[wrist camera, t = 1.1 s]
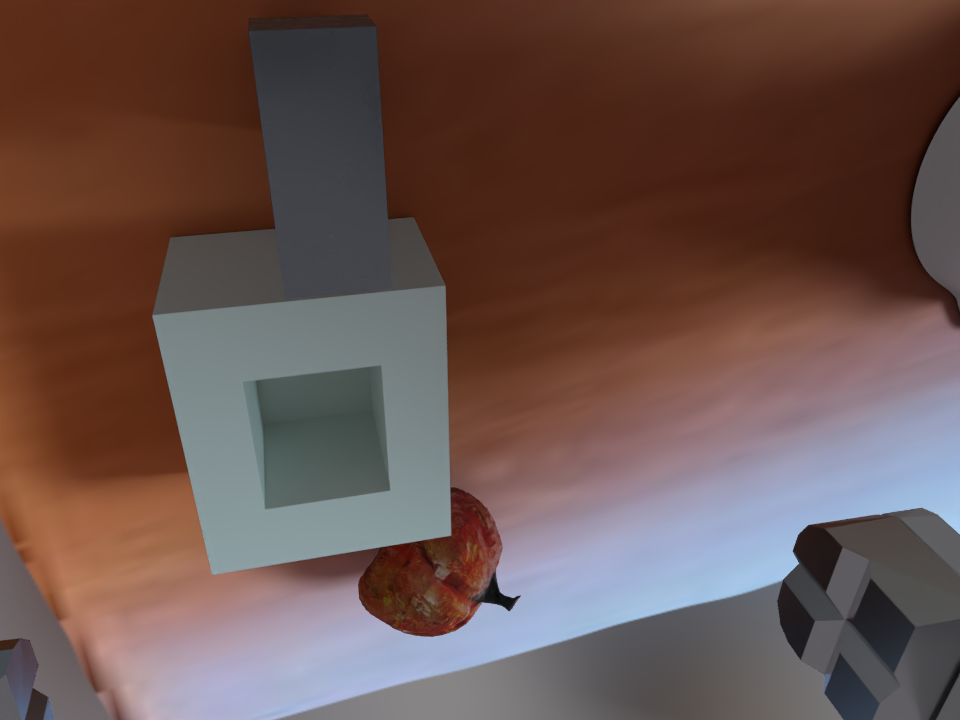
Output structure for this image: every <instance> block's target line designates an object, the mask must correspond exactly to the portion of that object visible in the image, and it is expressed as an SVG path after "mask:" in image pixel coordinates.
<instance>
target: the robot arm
mask: <svg viewBox="0 0 960 720" xmlns="http://www.w3.org/2000/svg"><path fill="white" fill-rule="evenodd" d="M911 229H912V237H913V242H914V246H915V250H916V253H917V255H918V258H919V260H920V262H921V263H922V265H923V267H924V268H925V270H926V271H927V272H928V273H929V275H930V276H931V277H932V278H933V279H934V280H935V281H937V282H938V283H939V284H941V285H942V286H943V287H945V288H946V289H947V290H949V291H950V292H951V293H952V294H953V295H954V296H955V298H956V299H957V303H958V306H959V310H960V97H959V98H958V100H957V101H956V102H955V103H954V105H953V106H952V108H951V109H950V111H949V112H948V114H947V115H946V117H945V118H944V120H943V121H942V123H941V125H940V126H939V128H938V130H937V132H936V134H935V135H934V137H933V139H932V141H931V143H930V145H929V148H928V150H927V152H926V155H925V157H924V160H923V162H922V165H921V168H920V171H919V174H918V177H917V181H916V185H915V189H914V194H913V200H912V209H911ZM793 553H794V555H795V557H796V558H797V560H798V562H799V564H798V565H797V566H796V567H795V568H794V569H793V570H792V571H791V572H790V573H789V574H788V575H787V576H786V577H785V578H784V579H783V582H782V586H781V589H780V593H779V597H778V600H777V603H778V610H779V617H780V625H781V627H782V629H783V632H784V634H785V636H786V639H787V641H788V643H789V644H790V645H791V647H792V648H793V650H794V652H795V653H796V654H797V656H798V657H799V659H800V660H801V661H803V662H804V663H806V664H808V665H810V666H811V667H813V668H814V669H816V670H818V671H819V672H821V673H823V674H824V693H825V695H826V696H827V698H828V699H829V700H830V701H831V703H832V704H833V706H834V707H835V708H836V710H837V711H838V713H839V714H840V715H841V717H842V718H843V719H844V720H960V534H958V533H957V532H956V531H955V530H954V529H953V528H952V527H951V526H950V525H948V524H947V523H946V522H945V521H944V520H943V519H942V518H941V517H939V516H938V515H937V514H935V513H933V512H930V511H928V510H926V509H923V508H918V509H911V510H904V511H898V512H891V513H885V514H882V515H871V516H864V517H858V518H851V519H845V520H839V521H832V522H826V523H819V524H813V525H808V526H807V527H806V528H805V529H804V530H803V531H802V532H801V533H800V534H799V535H798V537H797V540H796V543H795V546H794V549H793ZM37 668H38V662H37V660H36V657H35V654H34V651H33V648H32V646H31V643H30V640H27V639H22V638H19V639H11V640H2V641H0V720H54V715H53V711H52V708H51V704H50V701H49V697H47V696H45V695H44V694H42V693H40V692H39V691H37V690H35V689H33V685H34V681H35V677H36V673H37Z"/></svg>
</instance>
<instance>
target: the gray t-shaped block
mask: <svg viewBox="0 0 960 720" xmlns="http://www.w3.org/2000/svg"><path fill="white" fill-rule="evenodd" d="M249 38H250V45H251V53H252V60H253V68H254V75H255V82H256V90H257V97H258V104H259V112H260V119H261V127H262V134H263V141H264V149H265V156H266V163H267V171H268V178H269V186H270V193H271V200H272V208H273V215H274V222H275V230H276V237H277V244H278V252H279V259H280V267H281V274H282V281H283V289H284V296H285V299H292V298H302V297H312V296H322V295H332V294H342V293H352V292H362V291H372V290H382V289H392V279H391V262H390V245H389V229H388V212H387V195H386V179H385V162H384V145H383V129H382V112H381V95H380V79H379V62H378V45H377V28H376V25H375V24H374V23H373V22H372V20H371V19H370V18H369V17H368V15H342V16H311V17H281V18H250V19H249Z"/></svg>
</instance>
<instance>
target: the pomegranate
mask: <svg viewBox="0 0 960 720" xmlns="http://www.w3.org/2000/svg"><path fill="white" fill-rule="evenodd" d="M450 502H451V536H446V537H440V538H434V539H428V540H422V541H416V542H409V543H403V544H397V545H391V546H385V547H381V548H380V550H379V552H378V554H377V556H376V557H375V559H374V560H373V562H372V563H371V565H370V566H369V567H368V568H367V569H366V571H365V573H364V574H363V575H362V576H361V578H360V580H359V584H358V587H359V599H360V601H361V602H362V605H363V606H364V607H365V609H366V610H367V611H368V612H369V613H370V614H372V615H373V616H375V617H376V618H378V619H379V620H381V621H383V622H385V623H386V624H388V625H390V626H391V627H392V628H394V629H397V630H399V631H401V632H403V633H407V634H411V635H416V636H430V637H433V636H439V635H444V634H447V633H450V632H453V631H456V630H457V629H459V628H460V627H462V626H464V625H465V624H466V623H467V622H468V621H469V620H470V619H471V618H472V617H473V615H474V614H475V612H476V611H477V609H478V608H479V607H480V605H481V604H482V602H484V603H492V604H497V605H501V606H503V607H505V608H506V609H507V610H508V611H510V610H511V609H512V608H513V606H514V605H515V603H516V602H517V600H518V599H519V598H520V596H517V597H515V598H511V597H507V596H504V595H503V594H502V593H500V591H499V588H498V584H497V578H496V567H497V565H498V563H499V559H500V556H501V552H502V548H503V547H502V543H501V538H500V535H499V533H498V530H497V527H496V524H495V521H494V520H493V518H492V516H491V514H490V513H489V511H488V509H487V508H485V507H484V505H483V504H482V503H481V502H480V501H479V500H477V499H476V498H475V497H473V496H472V495H471V494H469V493H466V492H465V491H463V490H460V489H458V488H451V487H450Z"/></svg>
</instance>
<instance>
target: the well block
mask: <svg viewBox="0 0 960 720" xmlns="http://www.w3.org/2000/svg"><path fill="white" fill-rule="evenodd" d="M388 229H389V245H390V262H391V279H392V289H382V290H372V291H362V292H352V293H342V294H332V295H322V296H312V297H302V298H292V299H285V296H284V289H283V281H282V274H281V267H280V259H279V252H278V244H277V237H276V230H275V229H265V230H253V231H241V232H229V233H217V234H205V235H193V236H181V237H170V241H169V246H168V250H167V254H166V258H165V263H164V267H163V271H162V276H161V280H160V284H159V288H158V293H157V297H156V301H155V305H154V310H153V314H152V316H153V321H154V325H155V329H156V334H157V338H158V342H159V347H160V351H161V355H162V360H163V364H164V368H165V373H166V377H167V381H168V386H169V390H170V394H171V399H172V403H173V407H174V411H175V416H176V420H177V424H178V429H179V433H180V437H181V442H182V446H183V450H184V455H185V459H186V463H187V468H188V472H189V476H190V481H191V485H192V489H193V493H194V498H195V502H196V506H197V511H198V515H199V519H200V524H201V528H202V532H203V537H204V541H205V545H206V550H207V554H208V558H209V563H210V567H211V571H212V575H215V574H221V573H227V572H233V571H239V570H245V569H251V568H257V567H263V566H269V565H275V564H282V563H288V562H294V561H300V560H306V559H312V558H318V557H324V556H330V555H336V554H342V553H349V552H355V551H361V550H367V549H373V548H379V547H385V546H391V545H397V544H403V543H409V542H416V541H422V540H428V539H434V538H440V537H446V536H451V502H450V458H449V413H448V369H447V324H446V285H445V283H444V281H443V279H442V277H441V275H440V272H439V270H438V268H437V266H436V264H435V262H434V260H433V257H432V255H431V253H430V251H429V249H428V247H427V245H426V242H425V240H424V238H423V236H422V234H421V232H420V230H419V227H418V225H417V223H416V221H415V219H414V217H409V218H397V219H388Z"/></svg>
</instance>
